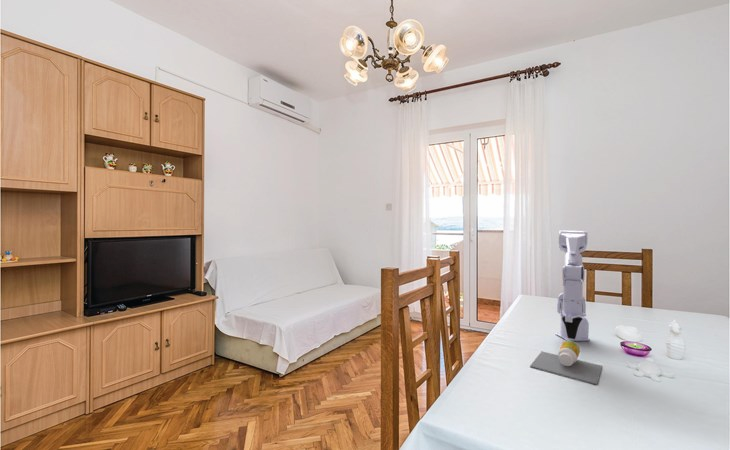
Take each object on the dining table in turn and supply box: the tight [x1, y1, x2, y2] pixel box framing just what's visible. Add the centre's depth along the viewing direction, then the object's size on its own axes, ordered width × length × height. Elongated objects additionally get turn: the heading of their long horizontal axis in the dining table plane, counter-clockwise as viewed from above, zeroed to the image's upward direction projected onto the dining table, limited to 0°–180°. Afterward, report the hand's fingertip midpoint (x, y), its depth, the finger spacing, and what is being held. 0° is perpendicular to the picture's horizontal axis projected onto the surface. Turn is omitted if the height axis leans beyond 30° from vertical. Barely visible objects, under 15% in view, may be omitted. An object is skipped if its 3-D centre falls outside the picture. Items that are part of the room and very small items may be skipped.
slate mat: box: [529, 350, 603, 386], centre depth 109 cm, size 16×18×1 cm
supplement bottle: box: [557, 340, 581, 366], centre depth 111 cm, size 5×5×10 cm
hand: (571, 338), depth 116 cm, fingers closed
